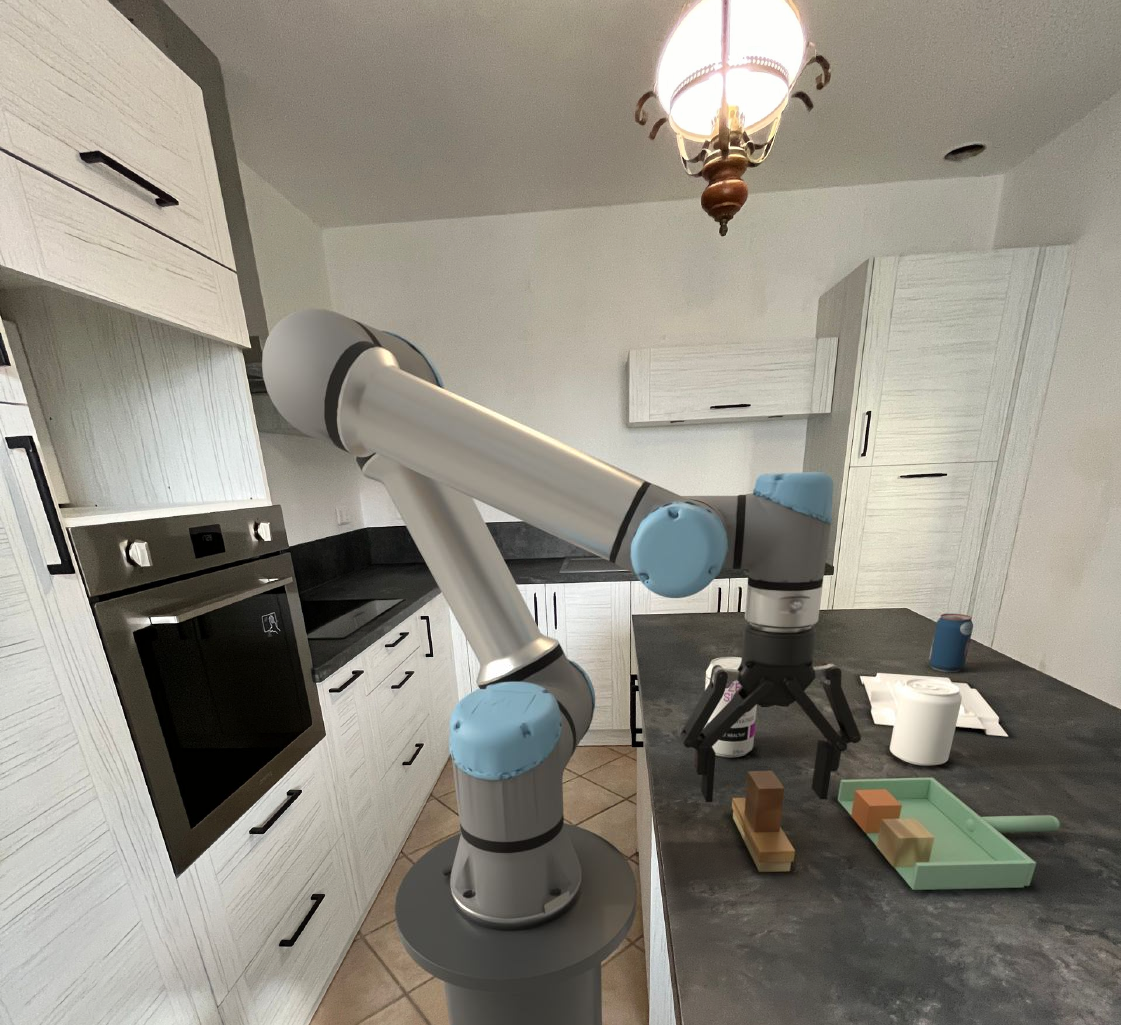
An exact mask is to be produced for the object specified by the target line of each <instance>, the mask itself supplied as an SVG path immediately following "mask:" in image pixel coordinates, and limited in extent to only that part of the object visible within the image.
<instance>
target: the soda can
mask: <svg viewBox="0 0 1121 1025" xmlns="http://www.w3.org/2000/svg"><path fill="white" fill-rule="evenodd" d="M972 618H973V617H972V616H971V615H968V614H962V613H943V614H940V617H939V618H938V619H937V621H935V622H936V623H935V627H934V632H933V636H932V642H931V647H930V651H929V655H928V656H929V657H928V664H929V666H930V668H931V669H932V670H935V671H939V672H944V673H957V672H960V671H961V670H962V669H963V668H964V667H965V665H966V662H967V657H968V652H969V649H970V648H969V647H970V644H971V639H972V633H973V629H974V623H973V621H972Z"/></svg>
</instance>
